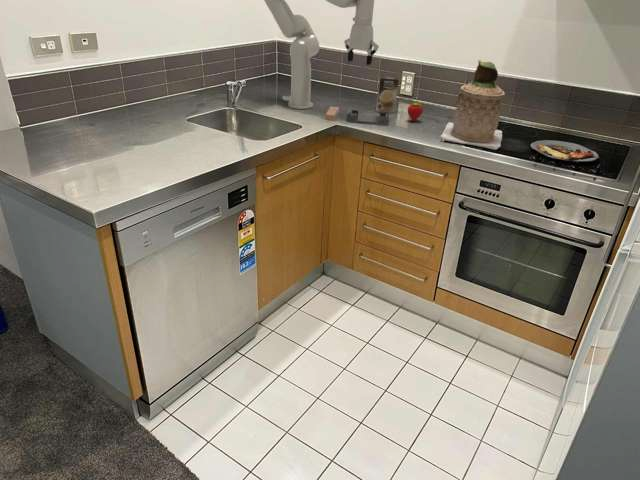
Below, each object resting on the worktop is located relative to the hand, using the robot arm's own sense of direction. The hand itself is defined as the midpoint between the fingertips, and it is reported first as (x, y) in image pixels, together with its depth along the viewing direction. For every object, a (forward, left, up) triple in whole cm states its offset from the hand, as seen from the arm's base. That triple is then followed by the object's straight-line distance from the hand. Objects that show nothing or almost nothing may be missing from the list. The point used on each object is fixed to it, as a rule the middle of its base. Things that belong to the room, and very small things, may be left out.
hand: (359, 62), depth 220 cm
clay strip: (-10, -5, -24) cm, 27 cm away
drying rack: (+7, -7, -24) cm, 26 cm away
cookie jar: (+53, -18, -24) cm, 61 cm away
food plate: (+88, -29, -25) cm, 96 cm away
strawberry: (+28, -1, -24) cm, 37 cm away
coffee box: (+14, +13, -24) cm, 31 cm away
